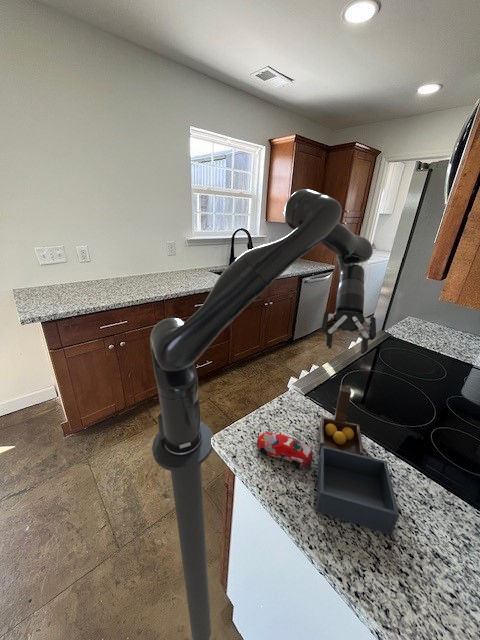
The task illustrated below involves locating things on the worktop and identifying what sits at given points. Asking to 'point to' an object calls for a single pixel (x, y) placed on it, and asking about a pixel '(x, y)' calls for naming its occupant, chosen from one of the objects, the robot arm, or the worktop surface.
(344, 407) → the scoop
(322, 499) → the bin
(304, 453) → the race car
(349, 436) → the ball
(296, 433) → the worktop surface
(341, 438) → the ball
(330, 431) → the ball
